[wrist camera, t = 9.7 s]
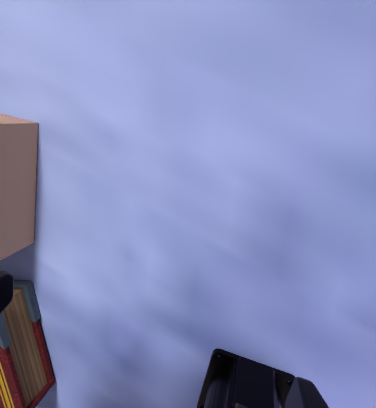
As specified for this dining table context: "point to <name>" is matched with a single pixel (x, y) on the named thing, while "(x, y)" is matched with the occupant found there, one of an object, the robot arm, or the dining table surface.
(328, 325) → the dining table surface
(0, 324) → the decorative book
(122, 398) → the dining table surface
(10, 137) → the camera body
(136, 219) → the dining table surface
